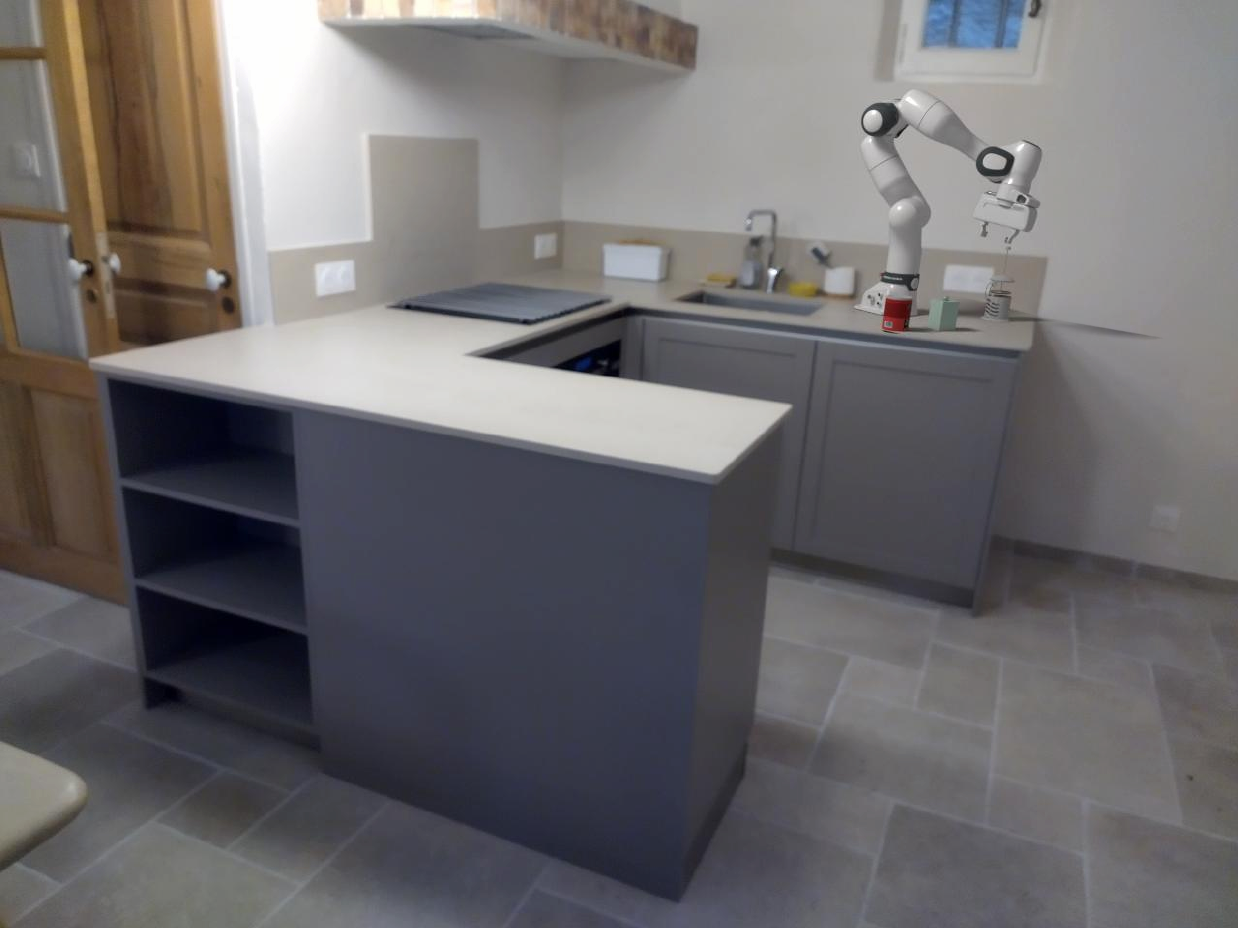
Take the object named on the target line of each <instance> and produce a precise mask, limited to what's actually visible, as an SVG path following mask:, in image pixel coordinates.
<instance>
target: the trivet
mask: <svg viewBox="0 0 1238 928" xmlns="http://www.w3.org/2000/svg"><path fill="white" fill-rule="evenodd" d="M922 328H923V329H926V330H930V331H933V332H937V333H951V332H953V333H955V332H958V333H961V332H963V331H962V330H958V329H955V331H938V330H934V329H931V328H928V327H927V325H926V326H922Z"/></svg>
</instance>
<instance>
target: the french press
mask: <svg viewBox="0 0 1238 928" xmlns="http://www.w3.org/2000/svg"><path fill="white" fill-rule="evenodd" d="M1004 250H1006V255H1005V263H1004V266H1003V273H1002V274H997V275H995V276H992V277H990V278H989V280H990V282H989V283H988V284H987V286H986V288H985V291H984V296H985V297H984V298H985V301H986V302H985V303H986V305H985V309H984V313H983V314H984V315H983V316H981V317H980V319H981V320H984V321H989V322H997V323H1008V322H1009V323H1010V322H1011V320H1010V319H1009V314H1010V308H1011V304H1012V298H1013V297H1012V296H1011V294H1012V292H1011V291H1010V290H1003V289H1002V286H1003V283H1007V284H1008V283H1010V284H1011V283H1015V282H1016V280H1015V279H1014V278H1012V276H1009V275H1006V274H1005V269H1006V265H1007V259H1008V254H1009V253H1008V252H1009V251H1011V250H1012V247H1011V246H1010V245H1007V246H1005V248H1004ZM991 281H992V282H991ZM993 282H994V283H993ZM997 282H999V283H1001V284H1000V289H992V287H997V284H998V283H997ZM990 284H991V286H990V288H989V292H988V294H987V289H988V287H989V285H990ZM994 284H995V285H994ZM991 293H992V294H993V295H992V294H991Z"/></svg>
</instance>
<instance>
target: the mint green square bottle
mask: <svg viewBox="0 0 1238 928" xmlns="http://www.w3.org/2000/svg"><path fill="white" fill-rule="evenodd" d="M929 307H930V308H929V313H928V318H927V319H928V320H927V325H926V326H927V327H928V328H931V329H934V330H938V331H955V330H956V326H957V320H958V313H959V309H960V308H959V307H960V301H958V300H953V299H950V296H948V295H943V296H942V298H931V300H930V306H929Z"/></svg>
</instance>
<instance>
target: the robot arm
mask: <svg viewBox="0 0 1238 928" xmlns="http://www.w3.org/2000/svg"><path fill="white" fill-rule="evenodd" d="M860 123H861V124H860V125H861V128H862V130H863V131H864V133H865V134H867V136H866V137H864V138H863V140H862V141H861V144H860V152H861V156H862V160H863V162H864V164H865V165H864V166H865V167H866V169H867V172H868V174H869V176H870V177H871V179H872V181H873V183H874V185H875V187H876V189H877V191H878V193H879V194H880V196H881V197H882V198H883V199H884V200H885V202H886V204H887V205H888V206H889V207H890V210H889V212H888V214H887V216H888V217H887V218H888V253H887V259H886V268H885V271H884V272H879V273H878V277H881V278H880V280H879V282H877V283H875V284H874V285H873V286H871V287H870V288H868V289H867V290H865V291H864V293H863V295H862V298H861V301H860V303H859V304H855V305H854V306H853V308H854V309H856V310H861V311H863V312H868V313H871V314H875V315H878V316H879V315H880V316H883V315H884V308H885V300H886V296H887V295H905V296H910V297H913V301H912V308H911V315H910V317H913V316H914V317H915V316H918V314H919V313H918V305H917V303H918V302H917V295H918V293H917V292H918V288H919V284H920V276H921V275H920V267H921V260H922V254H923V253H922V252H923V248H922V233H923V228H924V227H925V226H927V224H928V223H929V221H930V219H931V216H932V209H931V206H930V204H929V203H928V201H927V200H926V198H925V196H924V195H923V193H922V191H921V190H920V189H919V186H918V185H917V184H916V183H915V182H914V180H913V178H912V177H911V175H910V173H909V170H907V168H906V166H905V164H904V162H903V159H902V157H901V156H900V154H899V152H898V150H897V148H896V146H895V139H898V138H899V137H900V136H901V135H902V133H903V132H904V131H905V130H906V129H907V128H908V127H909V126H911V127H912V128H913V129H915V130H916V131H917V132H919V134H922V136H924V137H926V138H928V139H929V140H932V141H934V142H937V143H939V144H941V145H942V144H943V145H945V146H948V147H951V148H954V149H956V150H958V151H960V152H961V153H962V154H963V155H965V156H966V157H968V158H969V159H970V160H972V161H973V162H975V168H976V170H977V172H978V173H979V174H980V175H981V177H983V178H985V179H987V180H989V182H991V183H993V184H998V185H999V187H998V190H997V191H996V192H994V191H990V190H987V191H985V192H983V193H982V195H981V196H980V200H979V201H978V203H977V205H976V207H975V209H974V211H973V214H972V217H973V218H974V220H979V221H980V224H979V225H980V233H979V237H983V238H986V237H988V236H987V235H988V233H989V232H988V231H987V227H988V226H989V224H993V225H997V226H1000V227H1001V226H1002V227H1004V228H1008V229H1011V231H1010V232H1011V233H1010V235H1009V236H1006V237H1005V238H1004V241H1003V242H1004V244H1008V245H1011V244H1012V242H1013V240H1014V239H1015V238H1016V237H1017V236H1018V235H1019V233H1020V231H1021V232H1024V233H1030V232H1031V231H1032V230H1033V229H1034V225H1035V223H1036V220H1037V217H1038V208H1039V209H1040V206H1041V201H1040V200H1038V199H1036V198H1035V197H1034V196H1032V195H1031V194H1030V191H1031V185H1032V182H1033V180H1034V178H1035V177H1036V176H1037V173H1038V170H1039V168H1040V164H1041V161H1042V157H1043V150H1042V149H1041V148H1040V146H1039V145H1036V144H1034V143H1033V142H1030V141H1027V140H1025V139H1024V140H1023V139H1020V140H1018V141H1016V142H1013V143H1010V144H1006V145H1005V144H1004V145H996V146H995V145H994V146H992V145H989V144H988V143H986V142H985V141H983V140H982V138H981V139H980V138H979V137H978V136H977V135H976V134H974V133H973V132H972V131H971V130H970V129H969V128H968V127H967V126H966V124H965V123H964V122H963V121H962V119H961V118H960V117H959V116H958V114H957V113H956V112H955V111H954V109H952V108H951V107H950V106H948V104H946V103H945V102H944V101H942V100H941V99H940V98H938V97H937V96H935V95H933V94H931V93H930V92H927V91H925V90H923V89H921V88H912V89H910V90H909V91H907V92H906V93H905V94H904V95H903V97H902V98H894V99H885V100H882V101H880V102H875V103H873V104H870V105H869V106H868V107H867V108H865V110H863V112H862V114H861V118H860Z"/></svg>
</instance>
